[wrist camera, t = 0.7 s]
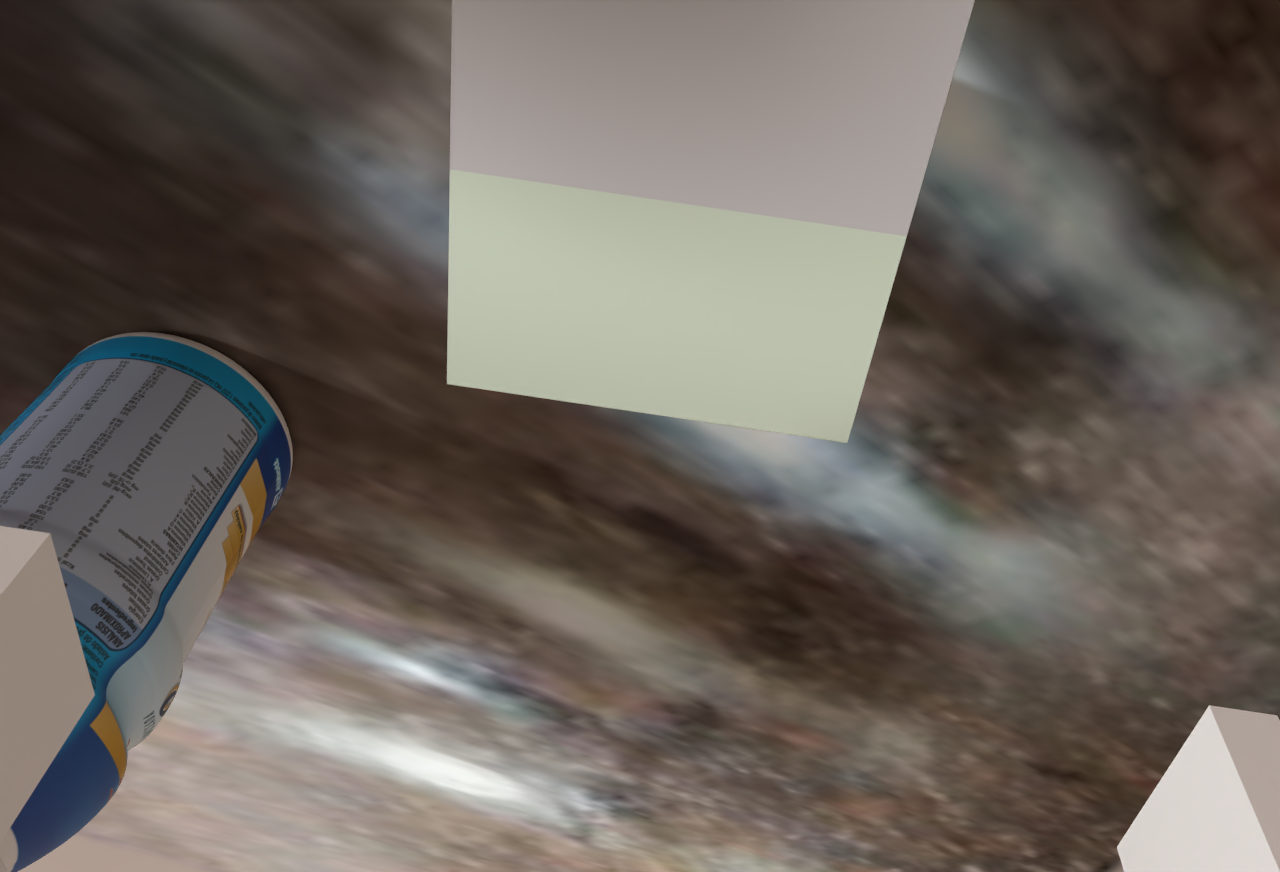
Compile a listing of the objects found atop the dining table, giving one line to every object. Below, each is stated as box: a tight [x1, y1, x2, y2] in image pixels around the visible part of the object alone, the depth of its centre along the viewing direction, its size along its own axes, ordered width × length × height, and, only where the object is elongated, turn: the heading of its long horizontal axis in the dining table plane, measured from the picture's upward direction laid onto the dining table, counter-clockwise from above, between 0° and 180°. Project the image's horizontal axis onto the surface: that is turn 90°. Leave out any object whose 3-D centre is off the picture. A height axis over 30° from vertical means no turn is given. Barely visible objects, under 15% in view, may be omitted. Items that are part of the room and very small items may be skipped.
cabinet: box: [447, 0, 975, 443], centre depth 24 cm, size 8×11×12 cm
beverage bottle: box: [0, 332, 293, 872], centre depth 30 cm, size 8×8×20 cm
